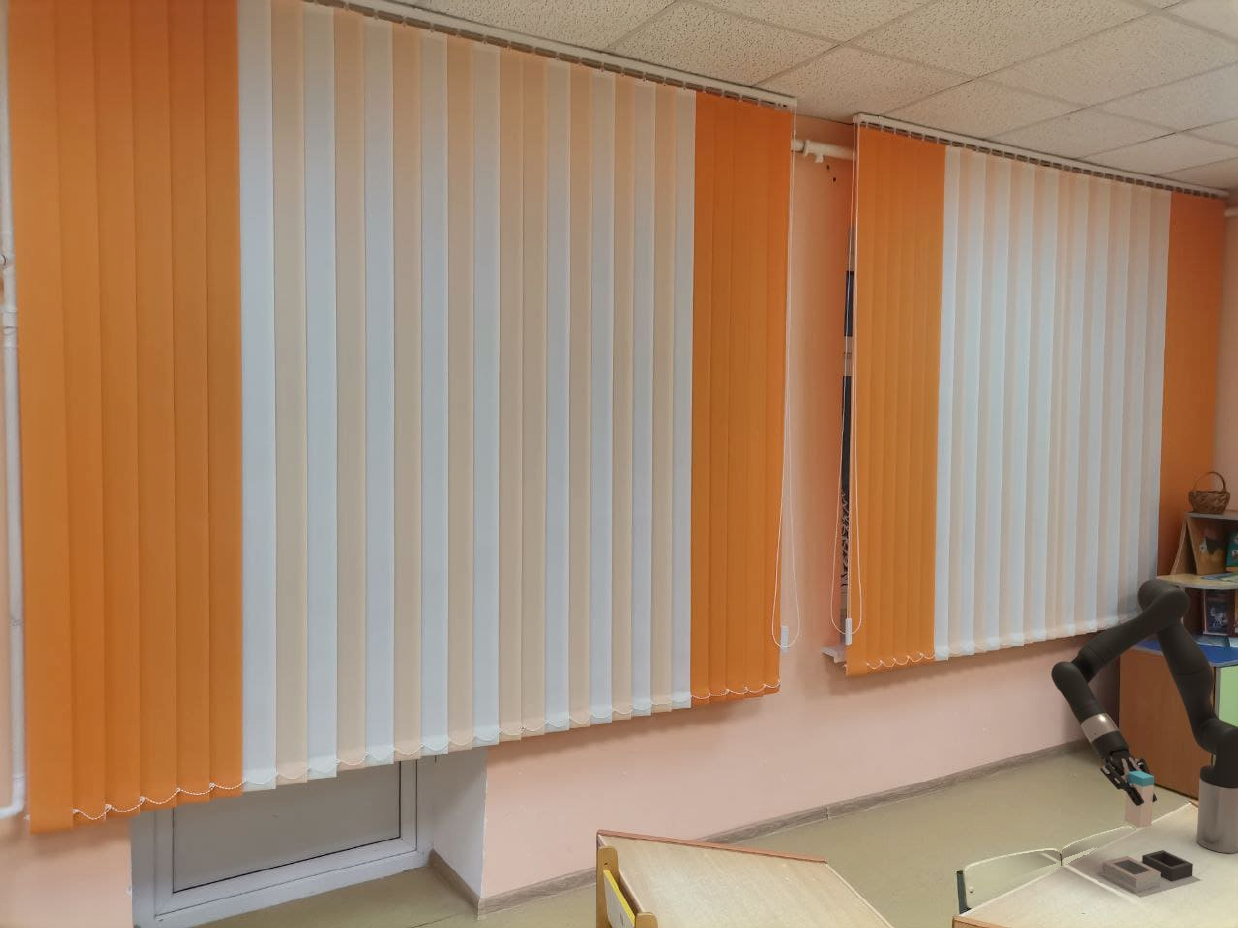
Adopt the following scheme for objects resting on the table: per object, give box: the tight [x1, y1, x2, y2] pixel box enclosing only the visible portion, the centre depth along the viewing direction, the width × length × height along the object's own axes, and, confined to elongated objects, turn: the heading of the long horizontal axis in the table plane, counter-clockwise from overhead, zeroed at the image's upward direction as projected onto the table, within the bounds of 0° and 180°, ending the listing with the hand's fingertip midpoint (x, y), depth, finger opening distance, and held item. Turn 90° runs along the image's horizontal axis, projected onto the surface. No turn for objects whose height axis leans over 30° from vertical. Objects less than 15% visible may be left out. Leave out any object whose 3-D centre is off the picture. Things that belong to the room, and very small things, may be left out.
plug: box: [1124, 771, 1155, 829], centre depth 213 cm, size 4×4×12 cm
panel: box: [1094, 860, 1202, 899], centre depth 215 cm, size 22×12×1 cm, turn 114°
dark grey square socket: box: [1141, 849, 1194, 882], centre depth 218 cm, size 8×8×3 cm
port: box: [1102, 855, 1161, 893], centre depth 213 cm, size 9×9×4 cm
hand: (1146, 802), depth 212 cm, fingers closed on plug, 4 cm apart
